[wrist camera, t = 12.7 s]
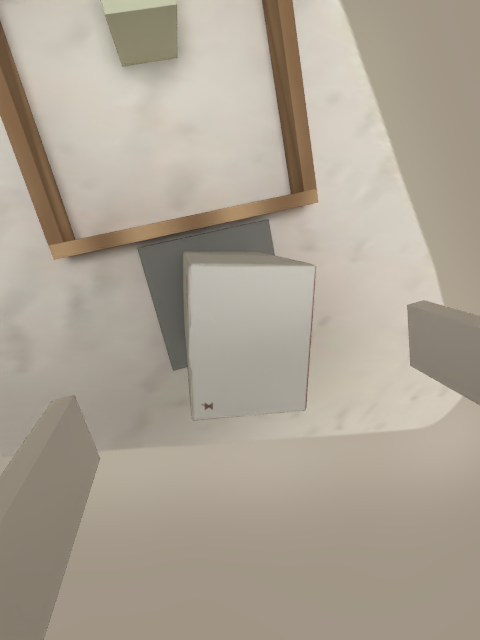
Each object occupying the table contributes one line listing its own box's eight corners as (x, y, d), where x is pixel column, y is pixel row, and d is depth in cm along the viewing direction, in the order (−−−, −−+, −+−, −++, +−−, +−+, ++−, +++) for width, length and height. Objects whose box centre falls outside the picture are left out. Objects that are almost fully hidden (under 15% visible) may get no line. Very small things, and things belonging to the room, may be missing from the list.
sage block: (122, 66, 24) (104, 14, 18) (104, -2, 23) (79, -80, 17) (177, 57, 24) (176, 4, 18) (162, -9, 23) (157, -89, 17)
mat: (173, 368, 30) (173, 370, 30) (138, 247, 27) (137, 248, 26) (287, 338, 31) (289, 340, 31) (266, 219, 28) (268, 219, 28)
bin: (67, 256, 26) (53, 259, 23) (-33, -24, 21) (-66, -64, 18) (304, 205, 29) (318, 202, 26) (267, -59, 23) (279, -100, 20)
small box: (255, 339, 30) (307, 414, 18) (184, 342, 29) (189, 424, 17) (257, 249, 28) (319, 263, 16) (181, 248, 27) (184, 263, 15)
